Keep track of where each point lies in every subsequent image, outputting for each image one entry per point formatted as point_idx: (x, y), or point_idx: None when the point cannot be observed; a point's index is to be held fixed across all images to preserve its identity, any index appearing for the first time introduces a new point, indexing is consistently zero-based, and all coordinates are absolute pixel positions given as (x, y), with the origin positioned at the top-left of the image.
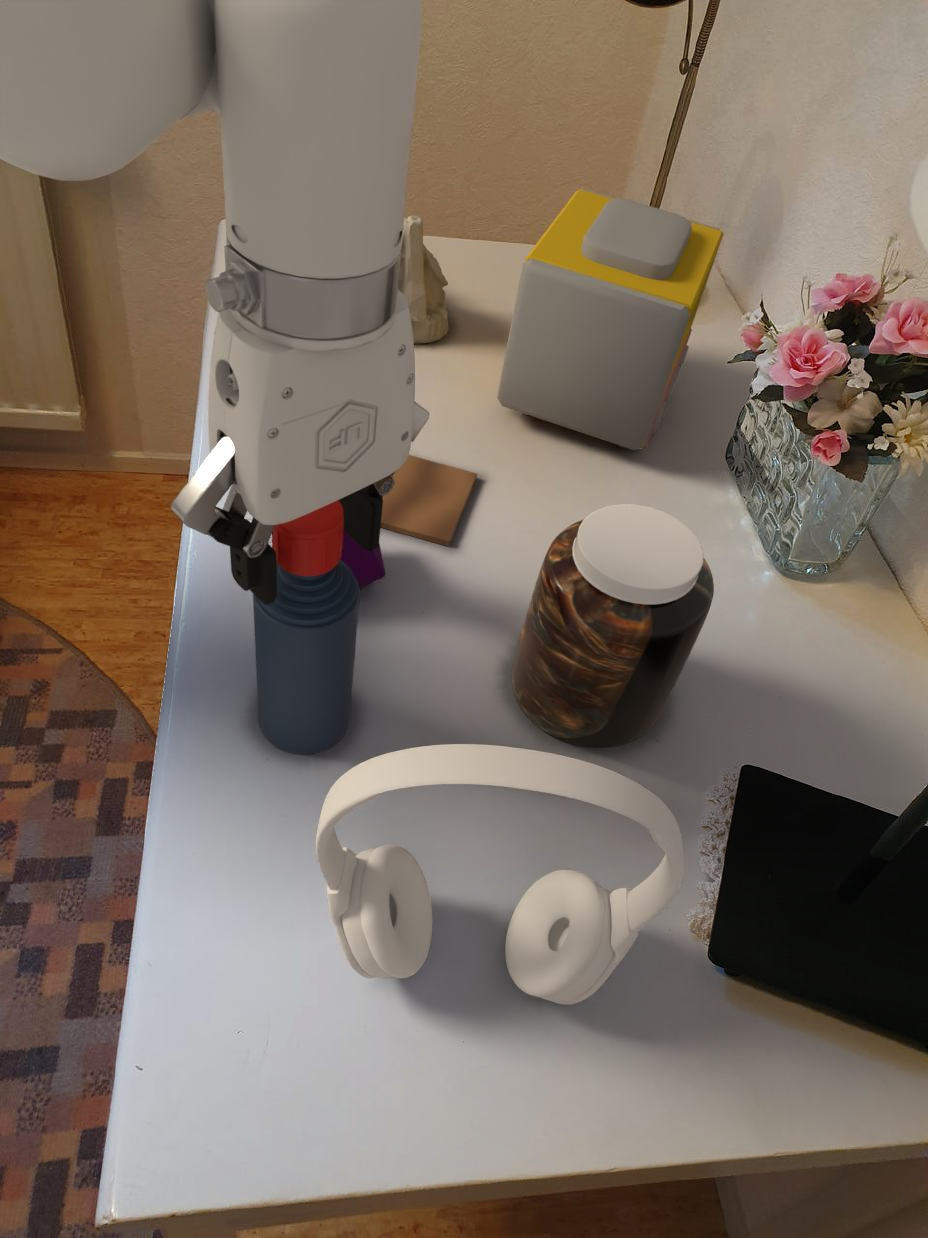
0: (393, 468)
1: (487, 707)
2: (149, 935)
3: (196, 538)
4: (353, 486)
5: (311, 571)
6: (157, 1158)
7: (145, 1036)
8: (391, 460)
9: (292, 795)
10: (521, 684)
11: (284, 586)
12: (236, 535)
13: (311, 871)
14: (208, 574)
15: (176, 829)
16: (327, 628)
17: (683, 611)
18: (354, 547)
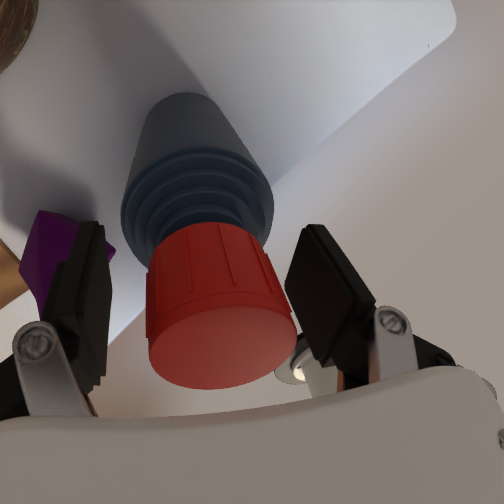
0: (32, 445)
1: (52, 43)
2: (383, 85)
3: (140, 309)
4: (245, 452)
5: (248, 237)
6: (446, 17)
7: (418, 52)
8: (47, 492)
9: (250, 80)
10: (18, 34)
11: None
12: (420, 353)
13: (292, 26)
14: None
15: (325, 123)
16: (228, 148)
17: None
18: (52, 249)
